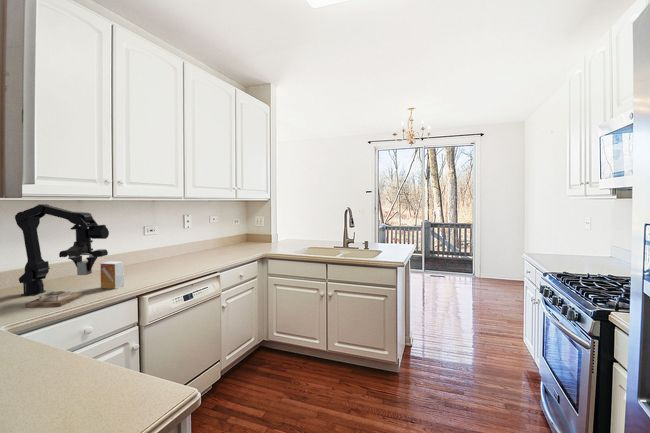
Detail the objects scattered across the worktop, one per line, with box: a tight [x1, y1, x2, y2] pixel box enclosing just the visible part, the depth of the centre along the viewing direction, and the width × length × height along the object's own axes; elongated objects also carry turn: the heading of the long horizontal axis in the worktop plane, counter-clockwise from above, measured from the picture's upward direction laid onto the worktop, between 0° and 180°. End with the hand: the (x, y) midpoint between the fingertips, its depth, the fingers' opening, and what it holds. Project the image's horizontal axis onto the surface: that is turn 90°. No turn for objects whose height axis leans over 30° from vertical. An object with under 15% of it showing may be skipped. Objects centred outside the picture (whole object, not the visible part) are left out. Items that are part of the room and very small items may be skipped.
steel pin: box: [76, 260, 93, 276], centre depth 151 cm, size 4×4×6 cm
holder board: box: [24, 290, 84, 308], centre depth 139 cm, size 14×14×4 cm
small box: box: [100, 260, 125, 290], centre depth 162 cm, size 8×6×13 cm
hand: (84, 270), depth 151 cm, fingers closed on steel pin, 4 cm apart
